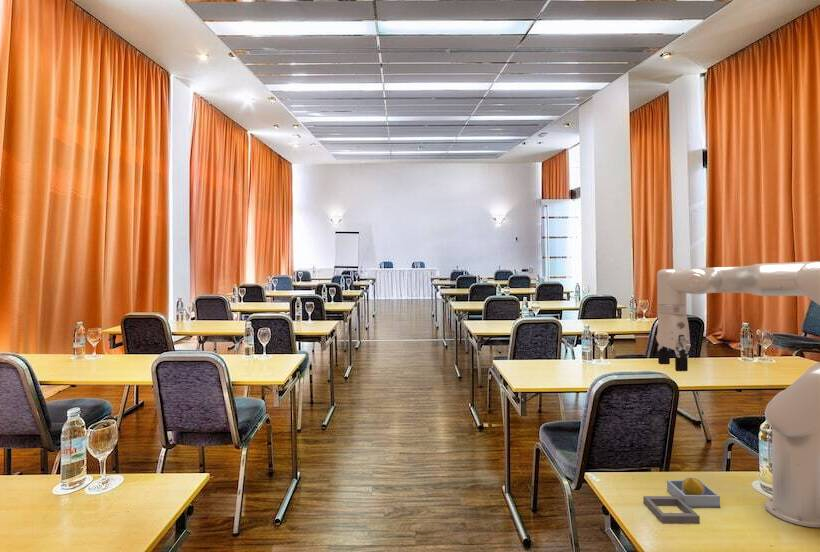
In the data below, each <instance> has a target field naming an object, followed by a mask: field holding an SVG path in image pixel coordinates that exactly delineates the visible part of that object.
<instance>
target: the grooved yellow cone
mask: <svg viewBox="0 0 820 552" xmlns="http://www.w3.org/2000/svg"><path fill="white" fill-rule="evenodd" d="M683 480H684V481H683V482H682V490H683V492H684V494H685V495H704V494H705V488H704V485H703V484H702V483H703V481H701V480H700V479H697V478H696V477H695V478H694V477H686V478H685V479H683ZM699 480H700V481H701V482H700V481H699Z"/></svg>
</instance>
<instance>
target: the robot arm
mask: <svg viewBox="0 0 820 552" xmlns="http://www.w3.org/2000/svg"><path fill="white" fill-rule="evenodd" d="M656 291H657V293H656V294H657V295H656V297H657V301H656V302H657V304H656V305H657V315H658V319H657V334H656V335H655V338H656V339H655V340H656V345H657V354H658V355H657V356H658V357H657V361H658V364H659V365H670V363H671V361H670V359H671V358H670V355H671V352H670V351H669V349H670V350H672V351H673V350H674V352H675V353H674V354H675V356H676V357H674V358H675V359H674V362H675V364H674V367H675V368H674V369H675V371H676V372H688V369H689V367H688V365H689V364H688V363H689V362H688V360H689V359H688V358H689V354H690V349H691V346H692V345H691V341H690V340H691V339H690V338H691V337H690V327H689V326H690V325H689V320H688V316H687V294H691V295H705V294H714V293H715V294H718V293H719V294H721V293H722V294H724V293H726V294H729V293H730V294H735V293H737V294H738V293H739V294H751V295H754V296H762V297H772V296H773V297H775V296H776V297H782V296H783V297H784V296H785V297H789V296H790V297H794V296H795V297H804V296H805V297H807V298H809V299H810V300H811V301H812V302H814V303H815V304H817V305H819V306H820V261H818V260H817V261H797V262H796V261H795V262H793V261H792V262H772V263H771V262H769V263H754V264H751V265H745V266H744V265H742V266H726V267H725V266H723V267H722V266H721V267H720V266H718V267H695V268H694V267H693V268H688V269H682V268H666V269H665V268H663V269H659V270H658V271H657V273H656ZM764 417H765V420H766V422H767V424H768V425H769V427H770V428H771V429H772V433H771V434H772V435H771V438H772V439H771V466H772V467H771V469H772V470H771V477H772V479H771V482H772V485H771V486H772V492H771V493H772V497H770V498H767V499H766V500H765V502H764V507H765V510H767V511H768V512H769V513H770V514H772V515H773V516H774V517H776V518H778V519H780V520H782V521H786V522H788V523H791V524H794V525H797V526H798V525H799V526H802V527H808V528H820V361H819V362H817V363H815V364H812V366H810V367H809V368H807V370H806V371H805V372H804V373H803V374H801V376H799V377H798V378H797V379H796V380H795V381H794V382H792V383H791V384H790V385H789V386H788V387H786V388H785V389H784V390H781V391H780V392H778V393H777V394H775V396H773V397H772V399H771V400H770V401H768V403H767V404H766V407H765V410H764Z"/></svg>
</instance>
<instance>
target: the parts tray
mask: <svg viewBox="0 0 820 552" xmlns="http://www.w3.org/2000/svg"><path fill="white" fill-rule="evenodd" d="M684 480H685V479H681V480H680V479H668V480H666V492H668V494H669V495H670V496H678V497H679V498H680V499H681V500H682V501H683V502H685V503H686V504H687V505H688V506H689V507H690V508H691V509H694V508H695V509H702V508H703V509H721V496H720V495H719V494H718V493H716V492H715V491H714V490H713V489H712V488H710V487H709V486H708V485H706V484H705V483H704V482H702V481H701V480H700V479H698V480H699V481H700V482H702V484H703V485H704V488H705V494H704V495H685V494H684V492H683V490H682V482H683V481H684Z"/></svg>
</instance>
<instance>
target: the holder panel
mask: <svg viewBox="0 0 820 552" xmlns="http://www.w3.org/2000/svg"><path fill="white" fill-rule="evenodd" d="M643 504H644V505H645V506H646V507H647V508H648V509H649V510H650V512H652V514H653V515H654V516H655V517H656V519H658V521H660V522H661V524H689V525H690V524H695V525H697V524H699V525H701V521H700V518H701V517H700V515H699V514H698V513H697V512H696V511H694V510H693V508H690V507H689V506H688V505H687V504H686V503H685V502H683V501H682V500H681V499H680V498H679V497H678V496H672V495H670V496H669V495H662V496H661V495H643ZM658 506H659V507H661V506H662V507H663V506H664V507H667V506H670V507H672V506H673V507H678V508H679V509H680V510H681V511H682V512H663V511H662V510H661V509H660V508H659V507H658Z"/></svg>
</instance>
